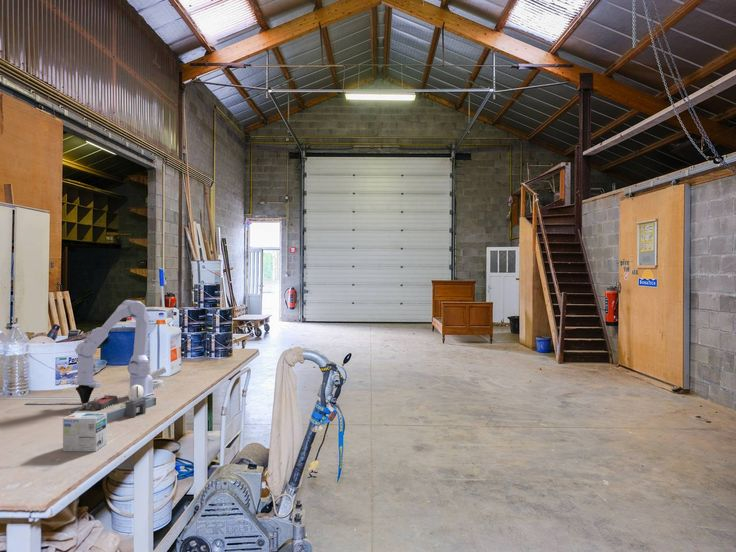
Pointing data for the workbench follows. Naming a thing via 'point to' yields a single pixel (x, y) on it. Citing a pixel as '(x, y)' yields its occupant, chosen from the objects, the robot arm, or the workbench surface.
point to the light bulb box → (84, 431)
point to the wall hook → (155, 374)
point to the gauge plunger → (136, 408)
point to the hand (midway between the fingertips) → (85, 403)
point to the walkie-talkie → (98, 403)
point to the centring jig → (131, 404)
